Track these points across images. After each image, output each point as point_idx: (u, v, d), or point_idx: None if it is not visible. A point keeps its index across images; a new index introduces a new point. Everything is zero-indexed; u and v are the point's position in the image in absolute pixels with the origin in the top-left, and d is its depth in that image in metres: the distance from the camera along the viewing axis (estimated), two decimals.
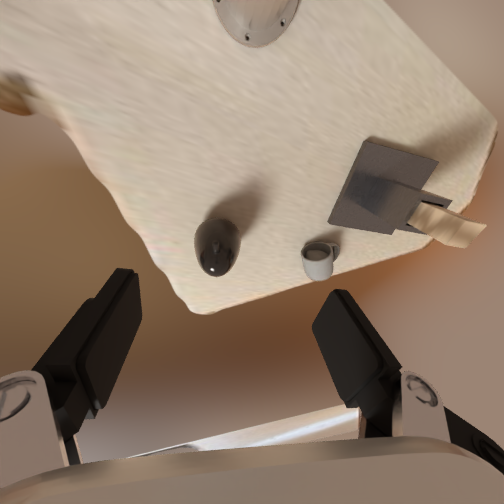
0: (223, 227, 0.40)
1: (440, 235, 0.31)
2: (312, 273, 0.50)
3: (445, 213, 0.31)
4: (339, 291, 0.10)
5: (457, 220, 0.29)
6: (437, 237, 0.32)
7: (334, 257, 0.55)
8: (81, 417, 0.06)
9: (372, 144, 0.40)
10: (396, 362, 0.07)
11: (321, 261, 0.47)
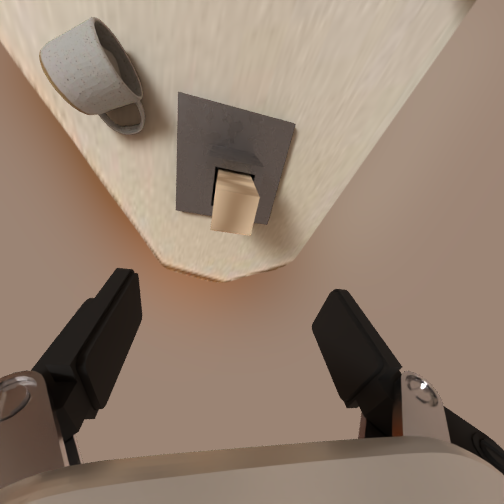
0: None
1: (225, 185, 0.19)
2: (60, 41, 0.22)
3: (254, 187, 0.21)
4: (339, 291, 0.10)
5: (254, 193, 0.19)
6: (219, 184, 0.19)
7: (116, 126, 0.30)
8: (81, 417, 0.06)
9: (292, 131, 0.33)
10: (396, 362, 0.07)
11: (101, 52, 0.22)
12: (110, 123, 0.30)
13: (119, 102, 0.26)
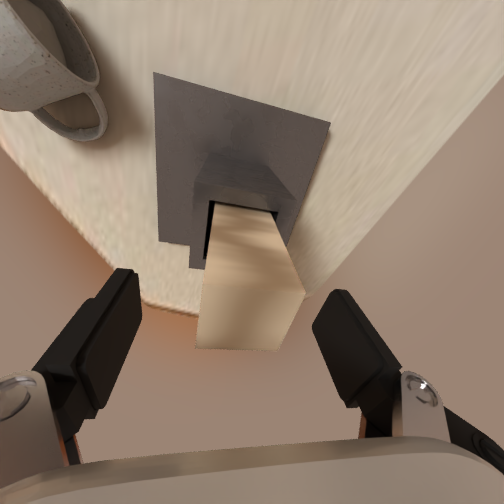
0: None
1: (226, 260, 0.09)
2: None
3: (284, 250, 0.10)
4: (339, 291, 0.10)
5: (290, 275, 0.09)
6: (214, 257, 0.09)
7: (63, 130, 0.20)
8: (81, 417, 0.06)
9: (324, 134, 0.22)
10: (396, 362, 0.07)
11: None
12: (53, 125, 0.20)
13: (54, 91, 0.16)
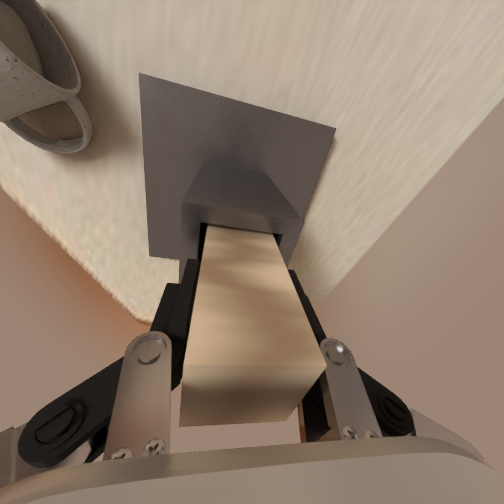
0: None
1: (219, 315, 0.07)
2: None
3: (292, 290, 0.08)
4: None
5: (304, 333, 0.07)
6: (203, 311, 0.07)
7: (42, 141, 0.18)
8: (181, 373, 0.07)
9: (329, 141, 0.20)
10: (318, 329, 0.07)
11: None
12: (30, 136, 0.18)
13: (26, 99, 0.14)
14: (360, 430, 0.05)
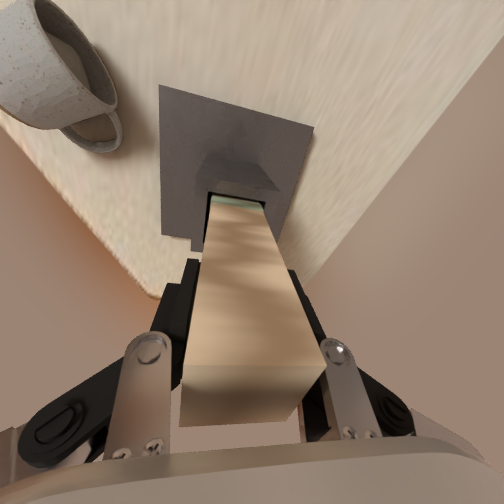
0: None
1: (218, 315, 0.07)
2: None
3: (292, 290, 0.08)
4: None
5: (304, 333, 0.07)
6: (203, 311, 0.07)
7: (84, 143, 0.23)
8: (181, 373, 0.07)
9: (309, 137, 0.25)
10: (318, 329, 0.07)
11: (44, 42, 0.15)
12: (76, 139, 0.23)
13: (82, 113, 0.19)
14: (360, 430, 0.05)
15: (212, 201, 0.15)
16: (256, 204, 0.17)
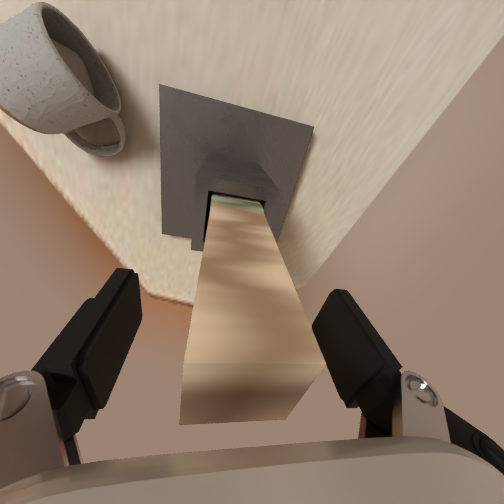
0: None
1: (218, 313, 0.07)
2: None
3: (292, 290, 0.08)
4: (339, 291, 0.10)
5: (303, 332, 0.07)
6: (203, 309, 0.07)
7: (88, 147, 0.24)
8: (81, 417, 0.06)
9: (309, 137, 0.25)
10: (396, 362, 0.07)
11: (51, 51, 0.15)
12: (80, 143, 0.23)
13: (87, 118, 0.19)
14: None
15: (212, 201, 0.15)
16: (256, 204, 0.17)
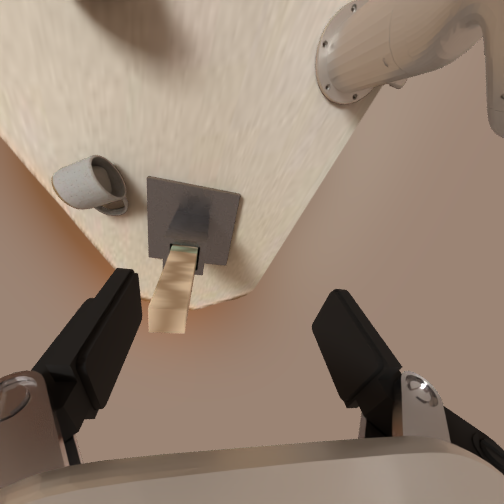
0: None
1: (160, 297, 0.23)
2: (67, 174, 0.32)
3: (188, 291, 0.25)
4: (339, 291, 0.10)
5: (184, 302, 0.23)
6: (155, 296, 0.23)
7: (105, 211, 0.40)
8: (81, 417, 0.06)
9: (238, 201, 0.43)
10: (396, 362, 0.07)
11: (95, 181, 0.32)
12: (101, 209, 0.40)
13: (108, 202, 0.36)
14: None
15: (171, 249, 0.32)
16: (195, 248, 0.34)
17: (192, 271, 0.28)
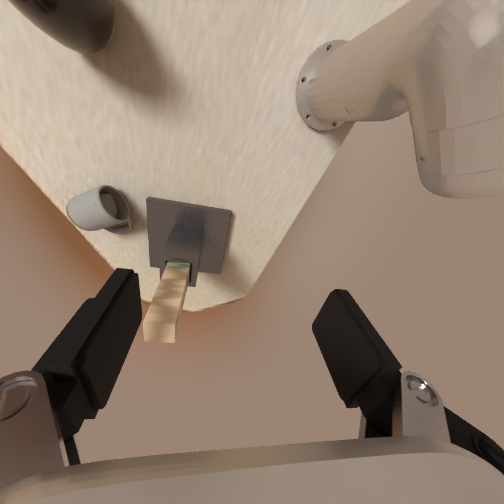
0: (97, 5, 0.24)
1: (153, 313, 0.28)
2: (79, 203, 0.37)
3: (178, 307, 0.30)
4: (339, 291, 0.10)
5: (173, 318, 0.28)
6: (149, 312, 0.28)
7: (112, 230, 0.46)
8: (81, 417, 0.06)
9: (229, 217, 0.47)
10: (396, 362, 0.07)
11: (103, 210, 0.37)
12: (108, 229, 0.45)
13: (114, 224, 0.41)
14: None
15: (166, 266, 0.36)
16: (187, 265, 0.38)
17: (183, 287, 0.33)
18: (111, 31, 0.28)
